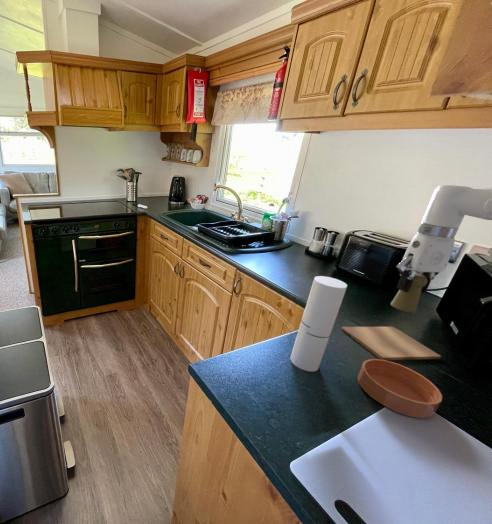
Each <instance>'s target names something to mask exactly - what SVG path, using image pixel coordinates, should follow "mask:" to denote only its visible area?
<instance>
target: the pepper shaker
mask: <svg viewBox="0 0 492 524" xmlns="http://www.w3.org/2000/svg"><path fill="white" fill-rule="evenodd" d="M410 273H411V272H409V274H410ZM411 280H413V282H412V285H411V287H410V289H409V291H408V292H404V291H402V290H400V289H398V291H397V293H396V295H395V296H394V297H393V299H392V300H391V302H390V305H391V307H393V308H395V309H397V310H399V311H402V312H406V313H411V314H412V313H416V312H417V309H418V306H419V301H420V297H421V293H422V292H421V290H422V287H423V286H425V285H426V284H427V278H426V277H425V276H423V275H421V273H416V274H415V275H414V277H413V278H412V279H411Z"/></svg>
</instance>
